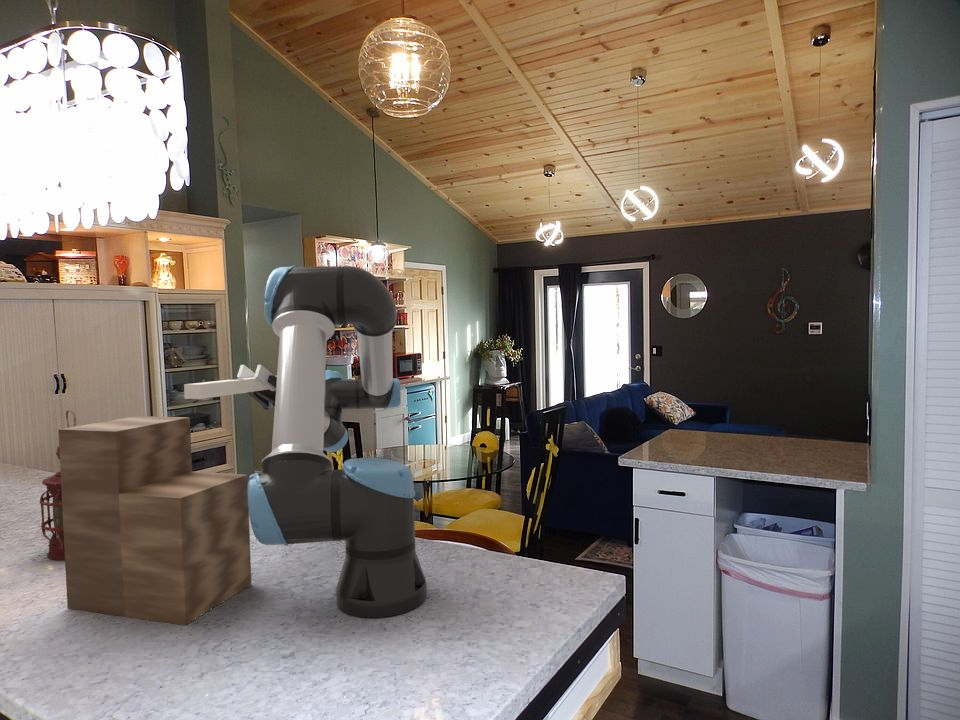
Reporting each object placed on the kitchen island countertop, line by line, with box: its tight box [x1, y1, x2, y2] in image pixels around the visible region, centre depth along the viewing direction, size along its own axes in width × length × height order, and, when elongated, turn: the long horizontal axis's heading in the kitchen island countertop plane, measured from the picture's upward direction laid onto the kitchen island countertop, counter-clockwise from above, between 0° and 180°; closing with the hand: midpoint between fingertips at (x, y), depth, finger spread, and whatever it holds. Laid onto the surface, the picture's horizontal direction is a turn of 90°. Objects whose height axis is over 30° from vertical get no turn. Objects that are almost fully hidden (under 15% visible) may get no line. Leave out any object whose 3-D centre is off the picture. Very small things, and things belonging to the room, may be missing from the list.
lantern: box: [39, 409, 77, 561], centre depth 130 cm, size 12×12×30 cm
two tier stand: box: [57, 415, 252, 626], centre depth 107 cm, size 16×24×30 cm, turn 73°
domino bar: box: [183, 375, 277, 400], centre depth 119 cm, size 24×3×3 cm, turn 164°
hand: (249, 370), depth 123 cm, fingers closed on domino bar, 3 cm apart
